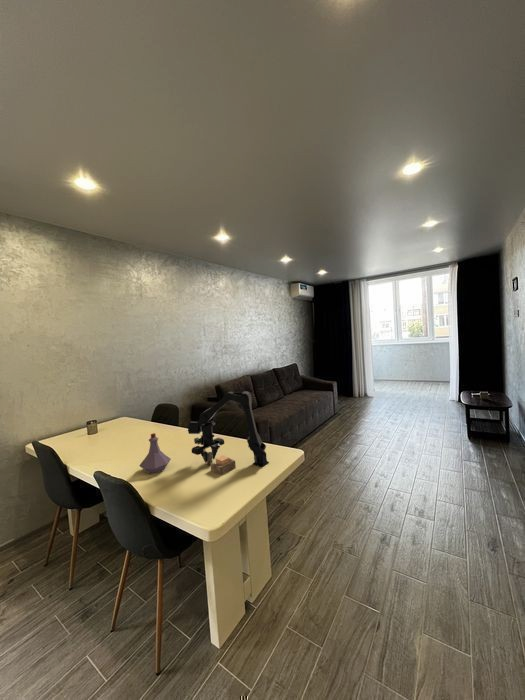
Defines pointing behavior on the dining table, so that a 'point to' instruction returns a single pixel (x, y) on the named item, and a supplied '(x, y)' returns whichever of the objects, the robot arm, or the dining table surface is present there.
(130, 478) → the dining table surface
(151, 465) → the flask
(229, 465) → the dark brown open box
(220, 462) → the tethered block
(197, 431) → the robot arm
